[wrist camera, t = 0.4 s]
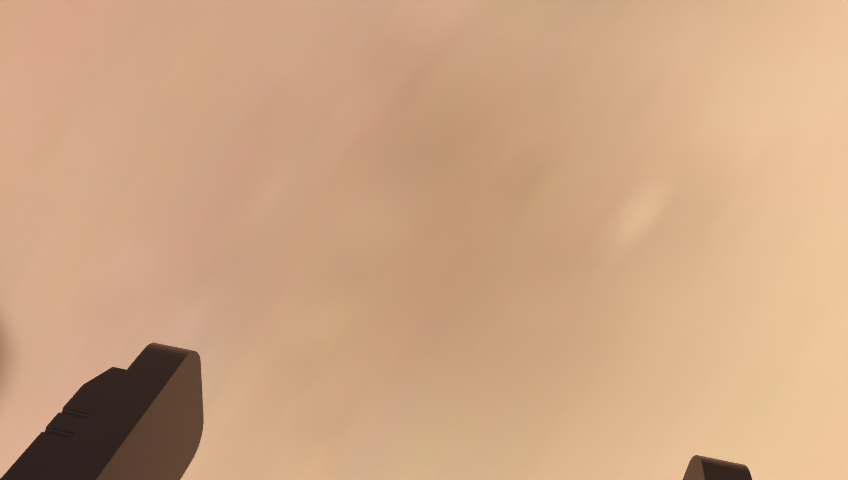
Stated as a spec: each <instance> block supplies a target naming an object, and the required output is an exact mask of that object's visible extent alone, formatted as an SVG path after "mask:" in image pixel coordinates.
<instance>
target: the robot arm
mask: <svg viewBox="0 0 848 480" xmlns="http://www.w3.org/2000/svg"><path fill="white" fill-rule="evenodd" d="M202 430H203V400H202V380H201V362H200V356H199V354H198V353H197V352H196V351H192V350H187V349H182V348H177V347H172V346H167V345H162V344H157V343H151V344H149V345H148V346H147V347H146V348H145V349H144V350H143V351H142V352H141V353H140V355H139V356H138V357H137V358H136V359H135V361H134V362H133V363H132V364H131V366H130V367H129V368H128V369H127V370H125V369H120V368H116V367H112V368H110V369H109V370H107V371H105V372H104V373H102V374H100V375H99V376H97V377H95V378H94V379H92V380H90V381H89V382H87V383H85V384H84V385H83V386H82V387H81V388H80V389H79V390H78V391H77V392H76V394H75V395H74V396H73V397H72V398H71V399H70V400H69V402H68V403H67V404H66V405H65V406H64V407H63V411H62V413H58V414H57V415H56V416H55V417H54V419H53V420H52V421H51V422H50V423H49V424H48V425H47V427H46V430H45V432H41V433H40V435H39V436H38V437H37V438H36V439H35V440H34V441H33V443H32V444H31V445H30V446H29V447H28V448H27V449H26V450H25V452H24V453H23V454H22V455H21V456H20V457H19V458H18V460H17V461H16V462H15V463H14V464H13V465H12V466H11V468H10V469H9V470H8V471H7V472H6V473H5V474H4V476H3V477H2V478H1V479H0V480H180V479H181V477H182V476H183V474H184V472H185V471H186V469H187V467H188V466H189V464H190V463H191V461H192V459H193V457H194V455H195V453H196V451H197V448H198V446H199V443H200V439H201V435H202ZM683 480H752V478H751V474H750V471H749V469H748V468H747V466H745V465H743V464H738V463H733V462H728V461H723V460H718V459H713V458H708V457H703V456H698V455H695V456H693V458H692V459H691V461H690V463H689V465H688V468H687V470H686V473H685V475H684V478H683Z"/></svg>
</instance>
